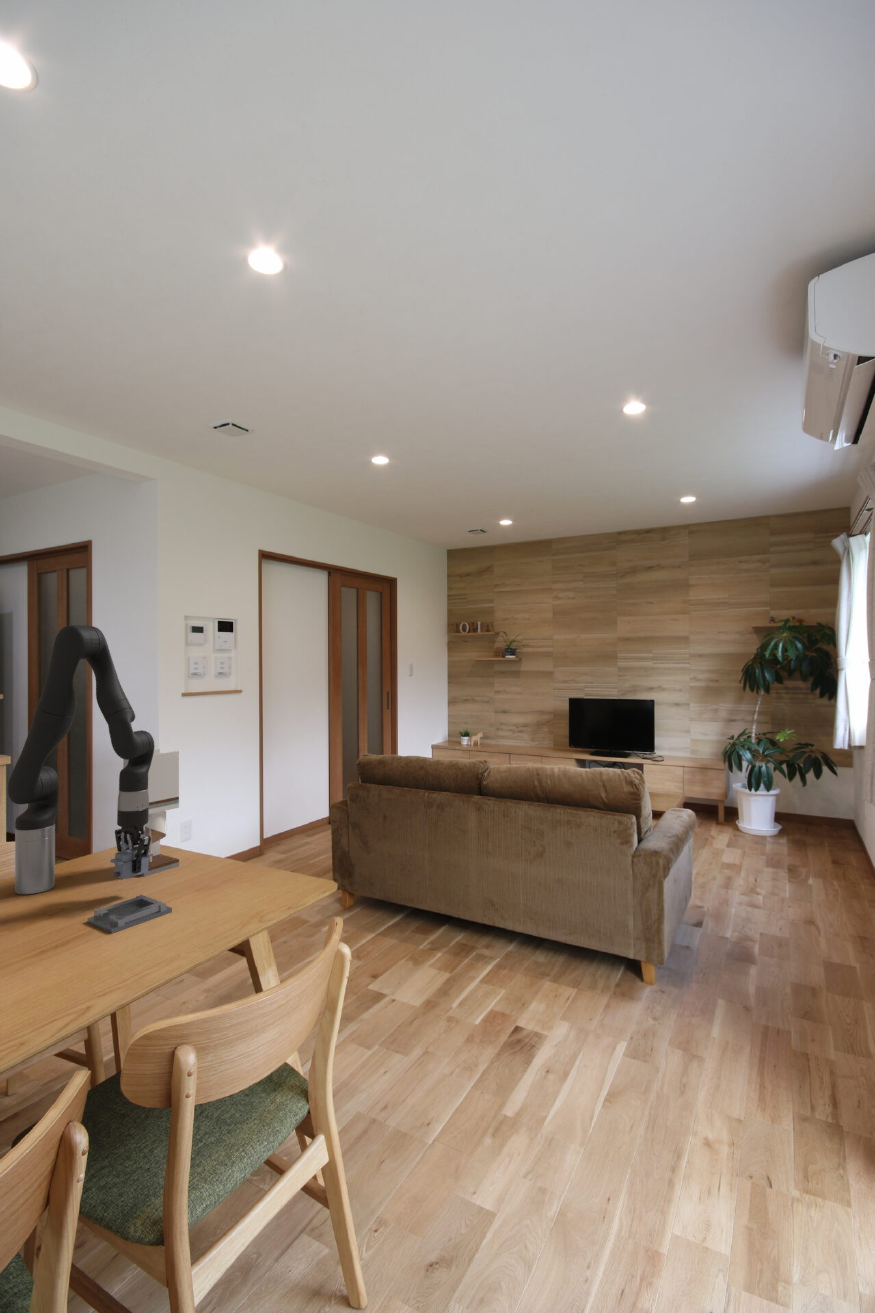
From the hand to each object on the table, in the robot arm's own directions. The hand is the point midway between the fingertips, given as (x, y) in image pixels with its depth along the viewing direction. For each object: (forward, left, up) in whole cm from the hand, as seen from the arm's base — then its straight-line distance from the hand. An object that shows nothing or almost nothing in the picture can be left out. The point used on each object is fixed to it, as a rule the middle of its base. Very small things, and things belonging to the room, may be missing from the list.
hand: (131, 870), depth 167 cm
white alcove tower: (-17, +16, -7) cm, 25 cm away
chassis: (+14, -8, -7) cm, 17 cm away
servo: (0, 0, -1) cm, 1 cm away
